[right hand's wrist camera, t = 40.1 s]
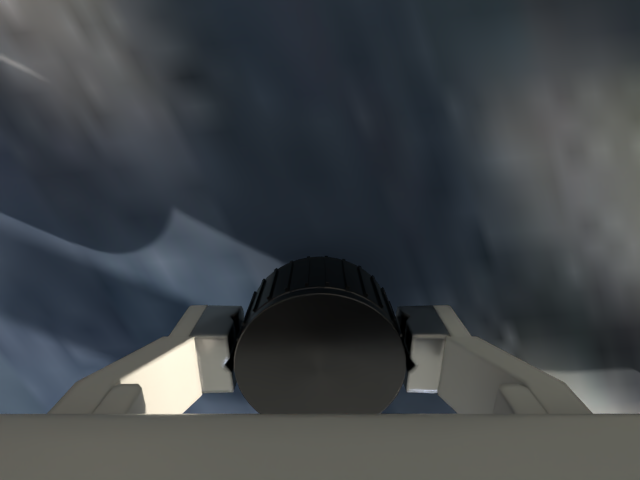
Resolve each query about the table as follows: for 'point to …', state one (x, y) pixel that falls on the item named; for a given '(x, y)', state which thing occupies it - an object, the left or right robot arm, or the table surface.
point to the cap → (320, 342)
